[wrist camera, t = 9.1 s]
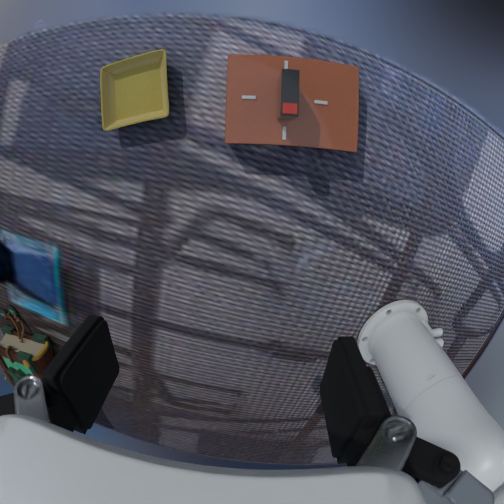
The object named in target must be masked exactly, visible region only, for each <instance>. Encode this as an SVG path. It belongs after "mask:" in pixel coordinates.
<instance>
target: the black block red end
mask: <svg viewBox="0 0 504 504" xmlns="http://www.w3.org/2000/svg"><path fill="white" fill-rule="evenodd" d="M299 75H300V70H294V69H282V70H281V72H280V75H279V78H278V102H277V120H291V121H292V120H294V119H295V118H297V117H298V111H299Z"/></svg>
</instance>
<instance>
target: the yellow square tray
mask: <svg viewBox="0 0 504 504" xmlns="http://www.w3.org/2000/svg"><path fill="white" fill-rule="evenodd" d="M100 86H101V110H102V126H103V129H104V130H105V131H109V130H113V129H116V128H120V127H124V126H128V125H132V124H136V123H140V122H145V121H149V120H154V119H159V118H165V117H167V116H169V100H168V84H167V64H166V50H164V49H160V50H156V51H152V52H148V53H144V54H140V55H137V56H134V57H131V58H127V59H124V60H121V61H118V62H115V63H112V64H109V65H106V66H103V67H102V69H101V71H100Z"/></svg>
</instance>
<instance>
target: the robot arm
mask: <svg viewBox="0 0 504 504" xmlns="http://www.w3.org/2000/svg"><path fill="white" fill-rule="evenodd" d="M442 334H443V330H442V328H437V329H433V330H432V329H431V327H430V326H429V325H428V316H427V313H426V311H425V310H424V308H423V307H422V306H421V305H420V304H419V303H417V302H415V301H412V300H399V301H395V302H392V303H390V304H387V305H385V306H384V307H382V308H380V309H379V310H378V311H376V312H375V313H374V314H373V315H372V316H371V317H370V318H369V319H368V320H367V322H366V323H365V324H364V326H363V327H362V329H361V331H360V334H359V337H358V343H356V341H355V339H354V337H352V336H350V337H339V338H338V340H334V342H333V345H332V348H331V352H330V355H329V359H328V362H327V365H326V369H325V372H324V375H323V378H322V381H321V384H320V396H321V400H322V405H323V410H324V415H325V420H326V425H327V430H328V436H329V441H330V446H331V452H332V456H333V457H337V462H338V464H340V463H347V467H334V468H319V469H301V470H300V469H299V470H254V469H236V468H223V467H214V466H205V465H198V464H191V463H184V462H179V461H173V460H167V459H163V458H158V457H153V456H149V455H144V454H140V453H136V452H133V451H129V450H125V449H122V448H118V447H115V446H111V445H108V444H105V443H102V442H99V441H96V440H93V439H91V438H88V437H85V436H82V435H79V434H77V433H74V432H73V431H74V430H75V431H78V432H80V433H83V434H85V433H86V431H87V429H90V428H91V427H92V425H93V423H94V421H95V419H96V417H97V415H98V413H99V411H100V409H101V407H102V405H103V403H104V401H105V399H106V397H107V395H108V393H109V391H110V389H111V387H112V385H113V383H114V381H115V379H116V378H117V376H118V374H119V364H118V361H117V357H116V354H115V351H114V347H113V343H112V340H111V336H110V332H109V328H108V324H107V322H106V321H105V320H104V318H103V317H101V316H96V315H89V316H88V317H87V318H86V319H85V321H84V322H83V323H82V324H81V325H80V327H79V328H78V329H77V330H76V331H75V333H74V334H73V335H72V336H71V337H70V339H69V340H68V341H67V342H66V344H65V345H64V346H63V347H62V349H61V350H60V351H59V352H58V354H57V355H56V356H55V358H54V359H53V360H52V361H51V363H50V364H49V365H48V367H47V368H46V369H45V371H44V372H43V373H42V376H43V377H42V379H41V380H40V379H39V378H38V377H36V376H32V375H30V376H25V377H22V378H21V379H19V380H18V382H17V383H16V384H15V386H14V393H11V394H8V395H4V396H0V504H504V485H502V486H500V485H501V484H502V483H503V482H504V431H503V429H502V428H501V427H500V426H499V425H498V424H497V423H496V422H495V420H494V419H493V418H492V417H491V416H490V415H489V413H488V412H487V411H486V410H485V408H484V407H483V406H482V405H481V403H480V402H479V400H478V399H477V398H476V396H475V395H474V393H473V392H472V391H471V389H470V388H469V386H468V385H467V383H466V382H465V380H464V379H463V377H462V376H461V374H460V373H459V371H458V370H457V369H456V367H455V366H454V364H453V363H452V361H451V360H450V359H449V357H448V356H447V354H446V353H445V352H444V350H443V349H442V347H443V344H444V343H443V339H442V338H437V339H435V338H434V337H439V336H442ZM357 344H358V346H357ZM363 359H364V360H365V361H366V362H367V363H369V364H373V365H376V366H377V368H378V370H379V372H380V375H381V377H382V379H383V381H384V383H385V386H386V388H387V390H388V392H389V395H390V397H391V399H392V401H393V404H394V406H395V408H396V411H397V413H398V415H399V416H397V415H394V416H391V414H390V411H389V409H388V406H387V404H386V401H385V399H384V396H383V394H382V392H381V389H380V387H379V384H378V382H377V380H376V377H375V375H374V373H373V370H372V369H371V368H370V367H366V364H365V362H364V360H363ZM499 486H500V487H499Z"/></svg>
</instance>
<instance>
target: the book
mask: <svg viewBox="0 0 504 504" xmlns="http://www.w3.org/2000/svg"><path fill="white" fill-rule="evenodd" d="M6 308H7V310H8V312H9V313H10V314H11V315H13V316H14V317H15V319H16V321H17V322H20V323H21V325H22V328H23V329H22V333H20V331H19V328H18V326H17V324H16V322H15V321H14V319H13V318H12V317H11V316H10V315H9V313H7V312H6V311H5V310H3V309H0V315H1V316H2V317H3V318H6V319H7V318H10V319H11V320H12V321H13V323H14V325H15V327H16V329H17V332H16V331H15V329H14V327H11V326H7V325H4V326H3V327H2V328H1V330H2V332H3V334H4V338H3V339H2V340H1V341H0V364H1V366H2V368H3V369H4V372H3V373H4V374H5V379H6V380H8V381H9V382H10V384H11V386H12V387H14V386H15V384H16V383H17V382H18V380H19V379H21V378H22V377H25V376H30V375H32V376H36V377H38V378H39V379H40V380H41V379H42V377H43V376H42V373H43V372H44V371H45V369H46V368H47V367H48V365H49V364H50V363H51V361H52V360H53V359H54V358H55V357H54V355H53V351H54V349H53V347H52V345H51V343H50V340H49V338H48V336H46V335H42V334H38V333H34V334H33V335H32V336H30V335H27V334H24V331H25V328H24V323H23V322H22V321H21V320H20V319H19V318H18V313H17V311H16V310H15V309H14V308H13V307H12V306H11V305H7V306H6Z"/></svg>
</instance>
